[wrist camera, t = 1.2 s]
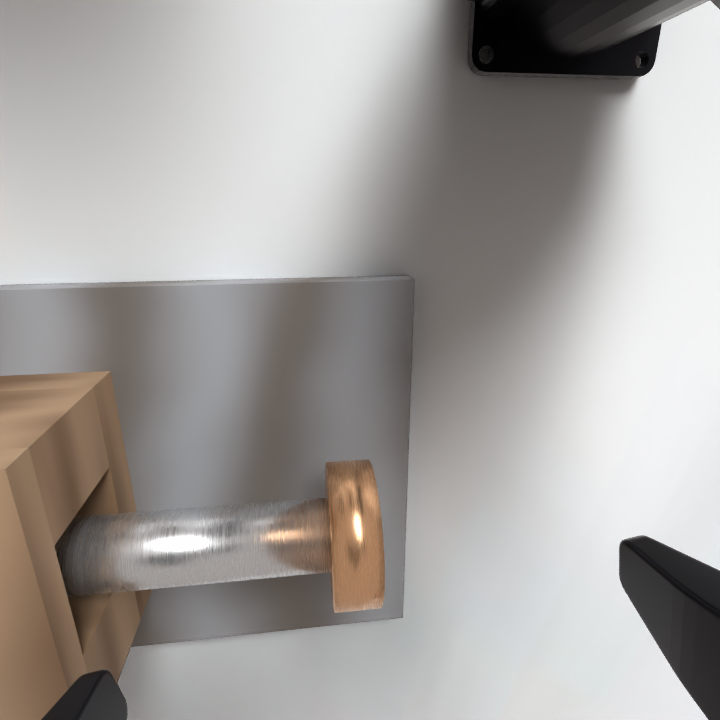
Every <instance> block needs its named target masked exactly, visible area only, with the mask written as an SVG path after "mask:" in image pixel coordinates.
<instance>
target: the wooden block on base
mask: <svg viewBox="0 0 720 720" xmlns="http://www.w3.org/2000/svg"><path fill="white" fill-rule="evenodd" d="M413 304H414V279H412V278H411V277H410V276H369V277H326V278H283V279H240V280H196V281H153V282H110V283H67V284H24V285H0V720H41V719H42V718H43V717H44V715H45V714H46V713H47V712H48V711H49V710H50V709H51V708H52V707H53V705H54V704H55V703H56V702H57V701H58V700H59V699H60V698H61V696H62V695H63V694H64V693H65V692H66V691H67V690H68V689H69V688H70V686H71V685H72V684H73V683H74V682H75V681H76V680H77V679H78V678H79V677H80V676H82V675H84V674H87V673H90V672H94V671H98V670H102V669H107V670H108V671H110V672H111V673H112V675H113V677H114V679H115V681H116V683H117V682H118V680H119V677H120V674H121V671H122V669H123V666H124V663H125V661H126V658H127V655H128V653H129V650H130V647H134V646H143V645H153V644H162V643H171V642H180V641H190V640H199V639H208V638H218V637H227V636H236V635H245V634H255V633H264V632H273V631H283V630H292V629H301V628H310V627H320V626H329V625H338V624H348V623H357V622H366V621H376V620H385V619H394V618H403V596H404V567H405V538H406V509H407V479H408V450H409V421H410V392H411V362H412V333H413ZM364 459H369V460H370V462H371V464H372V467H373V470H374V474H375V479H376V484H377V489H378V495H379V502H380V510H381V519H382V529H383V541H384V558H385V594H384V603H383V606H382V608H379V609H369V610H360V611H350V612H341V613H334V611H333V604H332V594H331V582H330V572H329V573H318V574H308V575H297V576H287V577H276V578H265V579H255V580H244V581H234V582H223V583H213V584H202V585H192V586H181V587H171V588H160V589H149V590H139V591H128V592H118V593H107V594H97V595H86V596H76V597H68V596H67V593H66V589H65V585H64V581H63V577H62V573H61V570H60V566H59V562H58V558H57V554H56V551H55V547H54V546H55V544H56V543H57V541H58V540H59V538H60V537H61V536H62V534H63V533H64V531H65V530H66V528H67V527H68V525H69V524H70V523H71V521H72V520H73V518H74V517H78V516H91V515H104V514H117V513H130V512H143V511H156V510H169V509H182V508H195V507H208V506H221V505H235V504H248V503H261V502H274V501H287V500H300V499H313V498H326V489H325V463H326V462H335V461H349V460H364Z"/></svg>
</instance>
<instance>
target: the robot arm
mask: <svg viewBox="0 0 720 720" xmlns="http://www.w3.org/2000/svg"><path fill="white" fill-rule="evenodd" d="M468 1H471V10H470V26H469V42H468V65H469V67H470V69H471V70H472V71H473V72H474V73H475V74H479V75H498V76H535V77H573V78H610V79H634V78H638V77H641V76H644V75H645V74H647V73H648V72H649V71H650V70H651V69H652V67H653V65H654V62H655V59H656V53H657V47H658V41H659V36H660V30H661V24H662V23H663V22H665V21H667V20H669V19H671V18H674V17H676V16H678V15H680V14H682V13H684V12H686V11H688V10H690V9H692V8H695V7H697V6H699V5H701V4H703V3H705V2H707V1H709V0H468ZM711 1H712V2H713V3H714V4H715V5H716V6H717V7H718V8H719V9H720V0H711ZM481 49H484V50H486V51H487V52H488V53H489V61H488V63H487V64H485V63H482V62H481V60H480V59H479V52H480V50H481ZM636 55H639V57H640V58H641V64H640V66H639V68H638V67H637V66H636V65H635V57H636ZM619 576H620V581H621V584H622V586H623V588H624V590H625V592H626V594H627V595H628V597H629V598H630V600H631V602H632V603H633V605H634V607H635V608H636V610H637V612H638V613H639V615H640V617H641V618H642V620H643V621H644V623H645V625H646V626H647V628H648V630H649V631H650V633H651V635H652V636H653V638H654V640H655V641H656V643H657V644H658V646H659V648H660V649H661V651H662V653H663V654H664V656H665V658H666V659H667V661H668V663H669V664H670V666H671V667H672V669H673V670H674V672H675V674H676V675H677V677H678V678H679V680H680V681H681V683H682V684H683V685H684V687H685V688H686V690H687V691H688V692H689V694H690V695H691V697H692V698H693V699H694V701H695V702H696V703H697V705H698V706H699V707H700V709H701V710H702V712H703V713H704V714H705V716H706V717H707V718H708V720H720V570H717V569H715V568H713V567H711V566H709V565H707V564H705V563H703V562H700V561H698V560H696V559H694V558H692V557H690V556H688V555H686V554H684V553H681V552H679V551H677V550H675V549H673V548H671V547H669V546H667V545H664V544H662V543H660V542H658V541H656V540H654V539H652V538H650V537H647V536H636V537H632V538H628V539H624V540H622V541H621V543H620V547H619ZM41 720H127V703H126V700H125V698H124V696H123V694H122V692H121V690H120V688H119V686H118V685H117V683H116V681H115V679H114V677H113V675H112V673H111V672H110V671H108V670H107V669H102V670H98V671H94V672H90V673H87V674H84V675H82V676H80V677H79V678H78V679H77V680H76V681H75V682H74V683H73V684H72V685H71V686H70V688H69V689H68V690H67V691H66V692H65V693H64V694H63V695H62V696H61V698H60V699H59V700H58V701H57V702H56V703H55V704H54V705H53V707H52V708H51V709H50V710H49V711H48V712H47V713H46V714H45V715H44V717H43V718H42V719H41Z"/></svg>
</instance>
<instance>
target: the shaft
mask: <svg viewBox="0 0 720 720" xmlns="http://www.w3.org/2000/svg"><path fill="white" fill-rule="evenodd" d="M325 489H326V498H313V499H300V500H287V501H274V502H261V503H248V504H235V505H221V506H208V507H195V508H182V509H169V510H156V511H143V512H130V513H117V514H104V515H91V516H78V517H74V518H73V520H72V521H71V523H70V524H69V525H68V527H67V528H66V530H65V531H64V533H63V534H62V536H61V537H60V538H59V540H58V541H57V543H56V544H55V546H54V547H55V551H56V554H57V558H58V562H59V566H60V570H61V573H62V577H63V581H64V585H65V589H66V593H67V596H68V597H76V596H86V595H97V594H107V593H118V592H128V591H139V590H149V589H160V588H171V587H181V586H192V585H202V584H213V583H223V582H234V581H244V580H255V579H265V578H276V577H287V576H297V575H308V574H318V573H329V572H330V582H331V594H332V604H333V611H334V613H341V612H350V611H360V610H369V609H379V608H382V606H383V603H384V594H385V558H384V541H383V529H382V519H381V510H380V502H379V495H378V489H377V484H376V479H375V474H374V470H373V467H372V464H371V462H370V460H369V459H364V460H349V461H335V462H326V463H325Z"/></svg>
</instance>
